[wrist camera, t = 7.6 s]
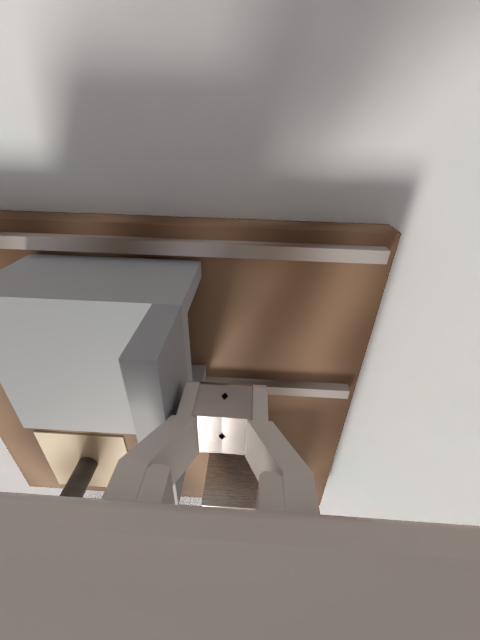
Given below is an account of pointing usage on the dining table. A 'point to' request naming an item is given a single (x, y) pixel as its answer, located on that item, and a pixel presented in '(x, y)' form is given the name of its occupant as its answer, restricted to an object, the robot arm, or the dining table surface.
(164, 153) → the dining table surface
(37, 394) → the cover
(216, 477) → the block
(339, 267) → the base
